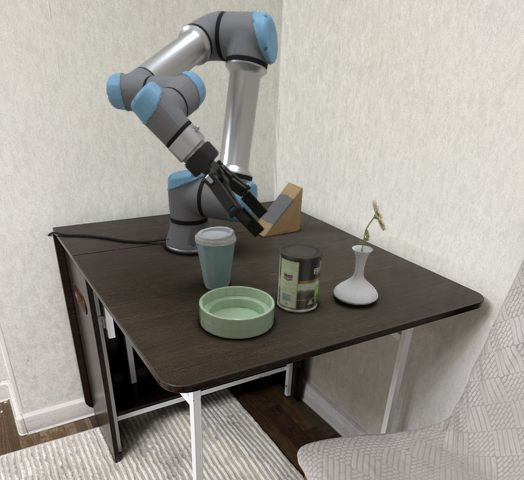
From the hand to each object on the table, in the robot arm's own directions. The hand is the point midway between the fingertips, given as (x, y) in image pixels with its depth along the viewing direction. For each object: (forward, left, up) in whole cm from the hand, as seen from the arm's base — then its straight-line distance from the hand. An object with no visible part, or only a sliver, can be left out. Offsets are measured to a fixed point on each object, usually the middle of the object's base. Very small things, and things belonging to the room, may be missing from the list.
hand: (261, 223), depth 111 cm
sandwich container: (-22, +52, -20) cm, 60 cm away
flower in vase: (+21, +15, -20) cm, 33 cm away
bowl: (+1, -12, -20) cm, 23 cm away
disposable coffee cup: (-14, +2, -20) cm, 25 cm away
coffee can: (+9, +4, -20) cm, 22 cm away
